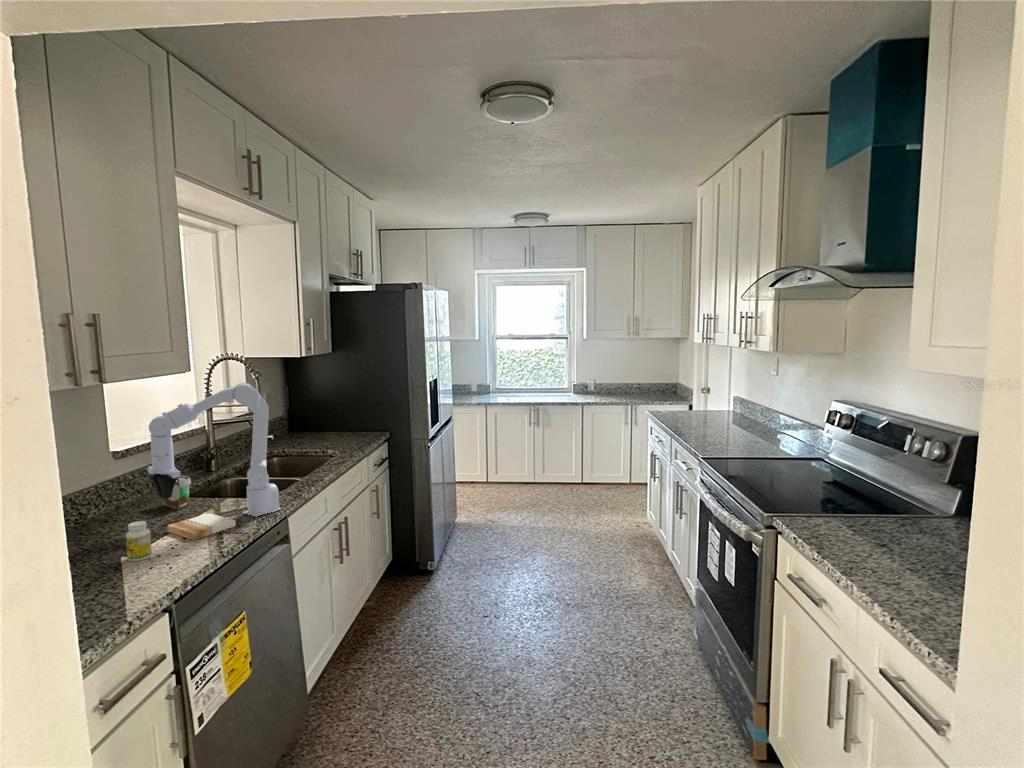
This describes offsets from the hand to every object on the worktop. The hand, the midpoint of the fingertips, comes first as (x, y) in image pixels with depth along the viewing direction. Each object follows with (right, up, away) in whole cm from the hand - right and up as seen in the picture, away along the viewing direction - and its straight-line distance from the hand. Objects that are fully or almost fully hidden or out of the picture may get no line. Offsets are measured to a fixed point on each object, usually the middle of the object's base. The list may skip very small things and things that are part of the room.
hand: (165, 497), depth 165 cm
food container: (-9, -8, +22) cm, 25 cm away
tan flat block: (+10, -10, -5) cm, 15 cm away
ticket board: (+14, -9, +1) cm, 17 cm away
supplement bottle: (+8, -12, -22) cm, 26 cm away
